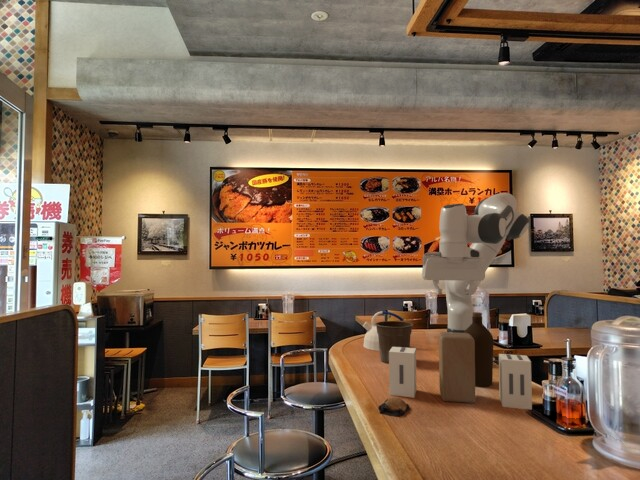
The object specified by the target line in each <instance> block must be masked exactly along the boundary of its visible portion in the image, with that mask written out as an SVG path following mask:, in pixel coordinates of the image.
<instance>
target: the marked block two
mask: <svg viewBox="0 0 640 480" xmlns="http://www.w3.org/2000/svg"><path fill="white" fill-rule="evenodd" d="M498 371H499V372H498V375H499V376H498V382H499V383H498V384H499V385H498V386H499V387H498V388H499V391H498V392H499V400H500V404H501V406H502V407H503V408H510V409H511V408H512V409H520V410H521V409H522V410H532V409H533V401H532V400H533V395H532V394H533V393H532V361H531V359H530V358H529V357H528V356H527V355H522V354H507V353H498ZM532 411H533V410H532Z"/></svg>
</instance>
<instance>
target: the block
mask: <svg viewBox="0 0 640 480" xmlns="http://www.w3.org/2000/svg"><path fill="white" fill-rule="evenodd" d="M438 359H439V360H438V361H439V362H438V369H439V370H438V373H439V375H438V377H439V378H438V379H439V392H440V396H441V399H442V401H444V402H452V403H453V402H454V403H464V404H465V403H466V404H473V403H474V404H475V402H476V386H475V341H474V339H473V337H472V336H471V335H470V334H468V333H454V332H447V331H441V332H439V335H438Z"/></svg>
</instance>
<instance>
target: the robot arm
mask: <svg viewBox="0 0 640 480" xmlns="http://www.w3.org/2000/svg"><path fill="white" fill-rule="evenodd" d="M517 208H518V201H517V199H516V197H515V195H512V194H511V193H508V192H501V193H500V192H499V193H496V194H493V195H491V196H489V197H488V198H487V197H486V198H483V199H482V200H480V201H479V202H477V205H476V207H475V209H474V211H473V214H472V215H471V214H470V215H469V214H468V213H467V209H466V205H465V204H463V203H454V204H453V203H452V204H445V205H444V206H442V207H441V209H440V215H439V224H438V225H439V226H438V227H439V233H440V239H439V242H438V243H439V245H438V246H439V251H435V252H434V251H433V252H431V251H428V252H426V253H424V254H423V255H422V258H421V262H422V271H421V277H422V279H423V280H425V281H432V285H433V286H434V288H435V294H436V295H443V288H440V286H439V284H440V281H444V286H445V297H446V298H445V299H446V307H447V327H446V332H454V333H464V331H465V330H466V329H467V328H468V327H469V326H470V325H471V324H472V316H473V314H472V313H473V312H475V309H474V304H473V303H474V302H473V299H472V296H473V295H474V294H475V293H476V292H477V290H478V288H479V286H480V283H481V282H483V281H484V280H485V278H486V272H487V270H488V269H489V267H490V265H491V264H492V262H493V261H494V260H495V258H496V257H497V255H498V254H499V253H500V252H501V251H500V250H501V249H502V248H503V245H504V244H505V241H506V240H507V241H510V240H515V239H517V240H518V239H519V238H521V237H522V236H523V235H525V234H526V232H527V231H528V229H529V225H530V219H529V218H528V216H526V215H525V214H523V213H520V212H519V211H517ZM468 244H471V245H469V246H468ZM495 361H496V358H495V357H494V356H493V362H495Z"/></svg>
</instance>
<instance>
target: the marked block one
mask: <svg viewBox="0 0 640 480" xmlns="http://www.w3.org/2000/svg"><path fill="white" fill-rule="evenodd" d="M388 391H389V392H388V395H389V396H393V397H394V396H395V397H405V398H415V397H416V392H417V348H416V347H410V348H404V347H392V348H391V349H390V351H389V363H388Z"/></svg>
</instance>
